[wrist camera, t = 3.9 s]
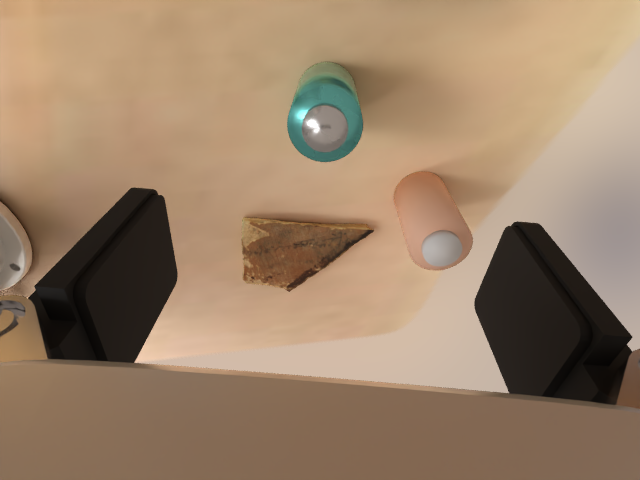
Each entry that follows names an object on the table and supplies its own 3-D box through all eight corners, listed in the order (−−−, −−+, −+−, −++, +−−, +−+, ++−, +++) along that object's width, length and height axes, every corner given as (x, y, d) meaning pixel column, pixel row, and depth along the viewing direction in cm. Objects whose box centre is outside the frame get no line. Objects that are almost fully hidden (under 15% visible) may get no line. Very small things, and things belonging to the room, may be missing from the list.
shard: (372, 220, 32) (375, 232, 31) (359, 287, 36) (361, 301, 35) (243, 209, 32) (239, 220, 30) (246, 279, 36) (242, 291, 35)
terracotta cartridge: (438, 218, 31) (464, 278, 25) (389, 214, 31) (404, 273, 25) (451, 173, 29) (484, 226, 23) (399, 169, 29) (418, 221, 23)
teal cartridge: (351, 125, 27) (358, 169, 21) (295, 120, 27) (285, 163, 21) (359, 64, 25) (369, 93, 19) (298, 59, 25) (287, 85, 18)
